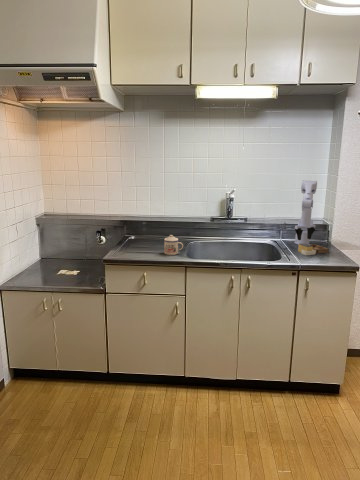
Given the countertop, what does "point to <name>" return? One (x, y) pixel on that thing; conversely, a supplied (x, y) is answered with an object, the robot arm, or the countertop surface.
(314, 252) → the bay
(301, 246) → the yellow rectangular block
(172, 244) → the teacup with lid
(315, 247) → the tray
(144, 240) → the countertop surface
